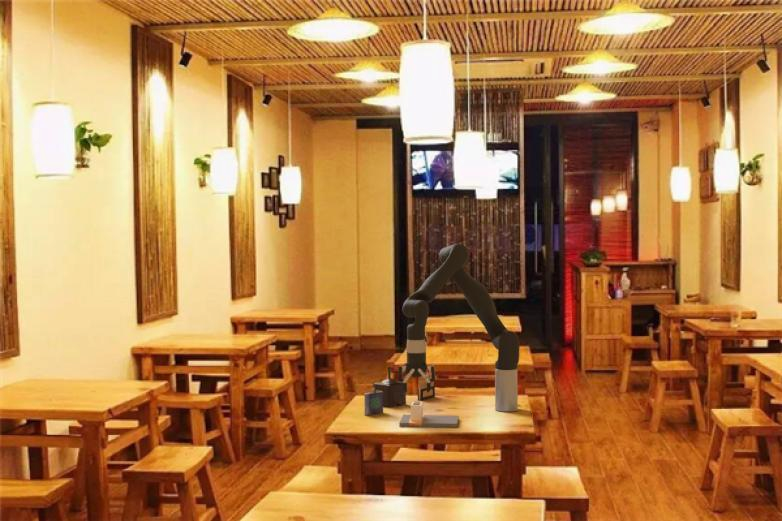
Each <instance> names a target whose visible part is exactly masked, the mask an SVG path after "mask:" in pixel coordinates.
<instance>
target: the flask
mask: <svg viewBox="0 0 782 521" xmlns="http://www.w3.org/2000/svg"><path fill="white" fill-rule="evenodd" d="M363 396H364V416H367V417H368V416H373V415H379V414H384V407H383V391H379V390H377V391H375V389H374V388H373V387H371V391H369V392H366V393H364V395H363Z"/></svg>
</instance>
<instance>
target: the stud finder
mask: <svg viewBox="0 0 782 521" xmlns="http://www.w3.org/2000/svg"><path fill="white" fill-rule="evenodd" d="M423 405H424V403H423V401H412V402H411V404H410V415H411V421H421V420H422V418H423V415H424V413H423V412H424V408H423V407H424V406H423Z"/></svg>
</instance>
